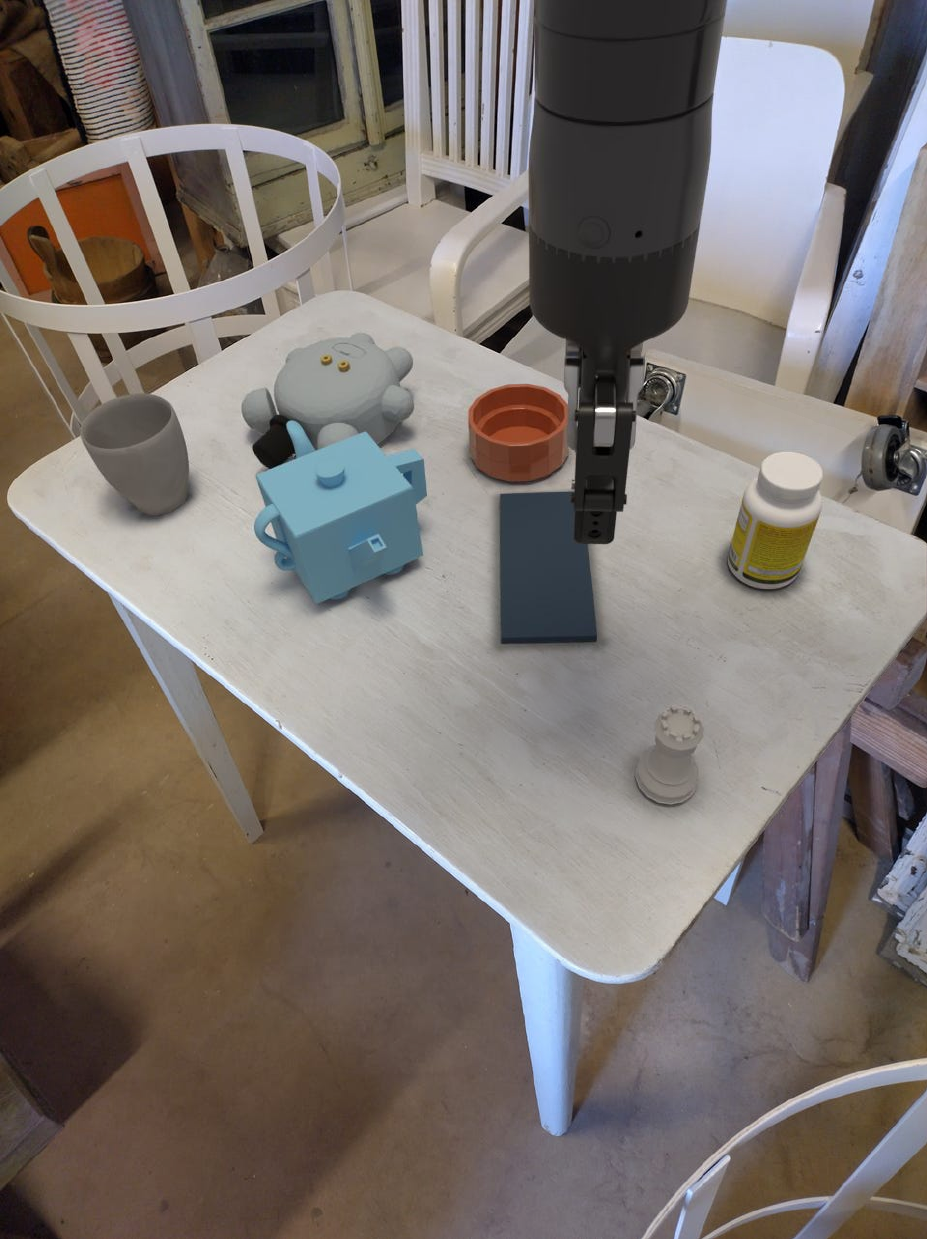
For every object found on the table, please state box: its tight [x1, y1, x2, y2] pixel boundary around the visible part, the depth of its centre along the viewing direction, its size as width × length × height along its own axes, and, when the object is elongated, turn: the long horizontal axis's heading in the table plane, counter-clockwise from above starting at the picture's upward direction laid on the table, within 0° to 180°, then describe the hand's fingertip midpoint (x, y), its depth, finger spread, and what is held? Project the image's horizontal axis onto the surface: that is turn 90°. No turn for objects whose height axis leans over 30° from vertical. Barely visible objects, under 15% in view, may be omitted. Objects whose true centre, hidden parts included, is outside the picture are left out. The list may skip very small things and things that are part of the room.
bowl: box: [467, 383, 569, 483], centre depth 83 cm, size 10×10×5 cm
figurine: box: [240, 332, 415, 470], centre depth 86 cm, size 17×8×20 cm
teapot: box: [253, 421, 428, 605], centre depth 72 cm, size 16×18×11 cm
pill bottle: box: [727, 451, 824, 590], centre depth 68 cm, size 6×6×11 cm
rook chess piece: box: [635, 704, 705, 805], centre depth 57 cm, size 4×4×8 cm
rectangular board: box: [499, 490, 598, 644], centre depth 74 cm, size 18×8×1 cm, turn 179°
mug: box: [79, 393, 190, 516], centre depth 81 cm, size 12×9×10 cm
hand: (594, 488), depth 48 cm, fingers open, 8 cm apart
